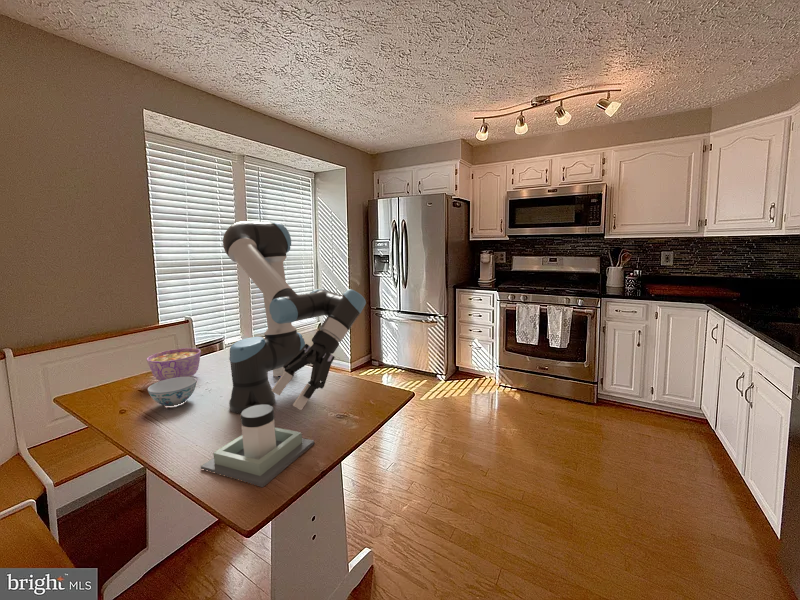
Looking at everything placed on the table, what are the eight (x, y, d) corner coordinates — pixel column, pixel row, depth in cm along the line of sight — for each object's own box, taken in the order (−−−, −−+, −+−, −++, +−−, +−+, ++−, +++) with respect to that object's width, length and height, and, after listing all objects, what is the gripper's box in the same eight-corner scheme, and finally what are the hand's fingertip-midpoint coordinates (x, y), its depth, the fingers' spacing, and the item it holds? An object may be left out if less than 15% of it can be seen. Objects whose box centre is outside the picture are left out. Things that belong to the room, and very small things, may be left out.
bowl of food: (165, 392, 146) (161, 364, 144) (140, 383, 156) (137, 357, 155) (213, 376, 162) (210, 351, 161) (188, 369, 173) (185, 345, 171)
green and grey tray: (201, 469, 93) (199, 455, 92) (259, 432, 111) (257, 419, 111) (262, 487, 85) (261, 471, 85) (314, 443, 104) (313, 430, 103)
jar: (269, 441, 104) (265, 401, 102) (284, 451, 98) (281, 408, 97) (237, 455, 97) (233, 412, 95) (252, 466, 92) (248, 421, 90)
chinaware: (141, 409, 131) (138, 388, 129) (181, 393, 144) (179, 374, 143) (167, 416, 124) (165, 394, 123) (207, 399, 138) (205, 379, 136)
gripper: (362, 351, 101) (317, 421, 94) (317, 336, 120) (276, 393, 113) (344, 336, 97) (296, 408, 90) (300, 323, 116) (257, 381, 108)
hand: (285, 400), depth 101 cm, fingers open, 13 cm apart
